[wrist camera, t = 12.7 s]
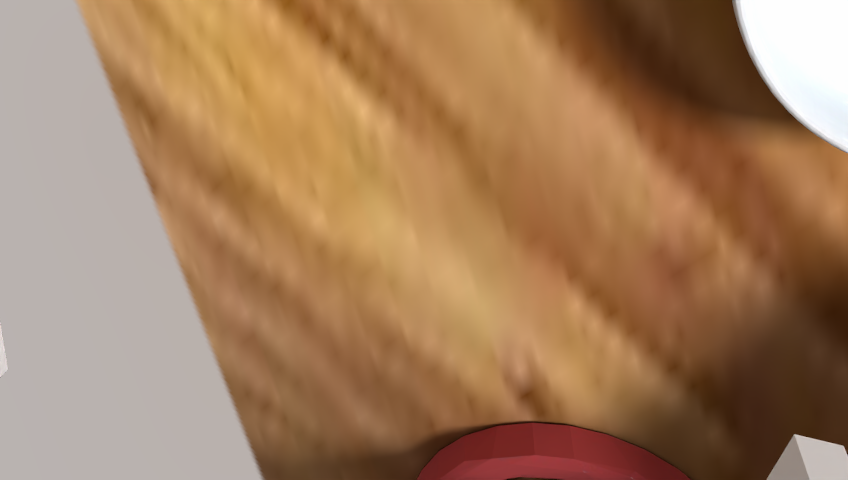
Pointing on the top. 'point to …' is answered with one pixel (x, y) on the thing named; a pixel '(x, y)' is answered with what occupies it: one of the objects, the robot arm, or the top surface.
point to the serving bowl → (802, 59)
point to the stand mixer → (545, 456)
